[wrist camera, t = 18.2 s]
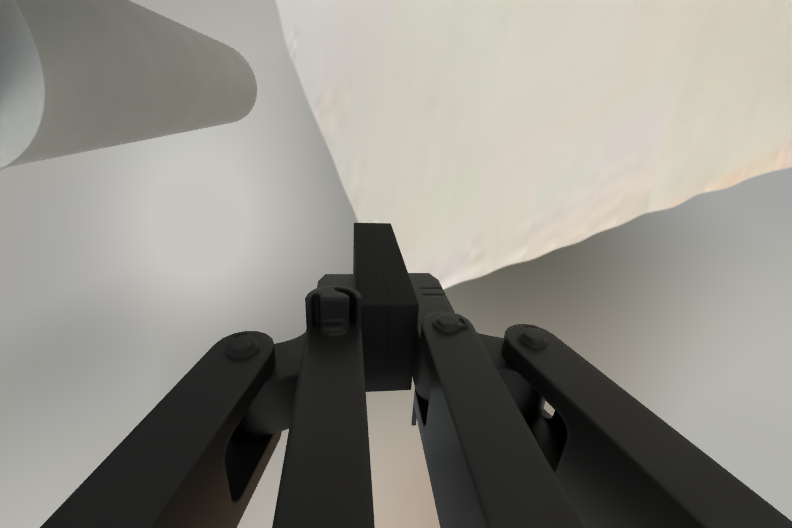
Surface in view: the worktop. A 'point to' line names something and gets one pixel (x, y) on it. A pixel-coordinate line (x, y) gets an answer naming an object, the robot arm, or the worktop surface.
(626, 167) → the worktop surface
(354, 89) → the worktop surface
